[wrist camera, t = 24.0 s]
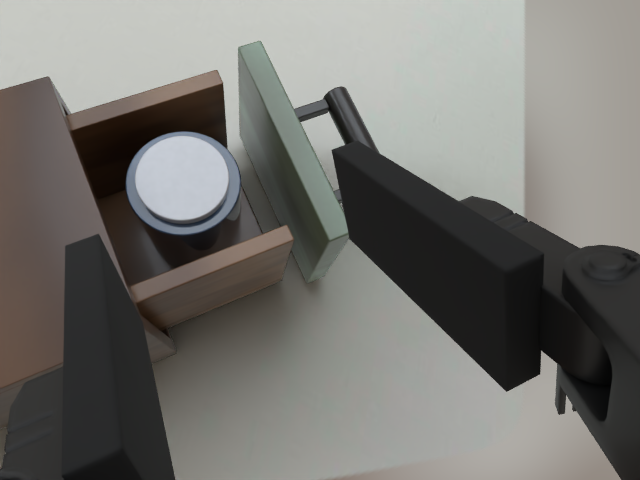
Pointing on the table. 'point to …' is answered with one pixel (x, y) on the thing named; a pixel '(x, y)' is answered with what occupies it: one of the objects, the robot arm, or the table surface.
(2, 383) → the cabinet
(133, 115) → the drawer
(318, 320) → the table surface
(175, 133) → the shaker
